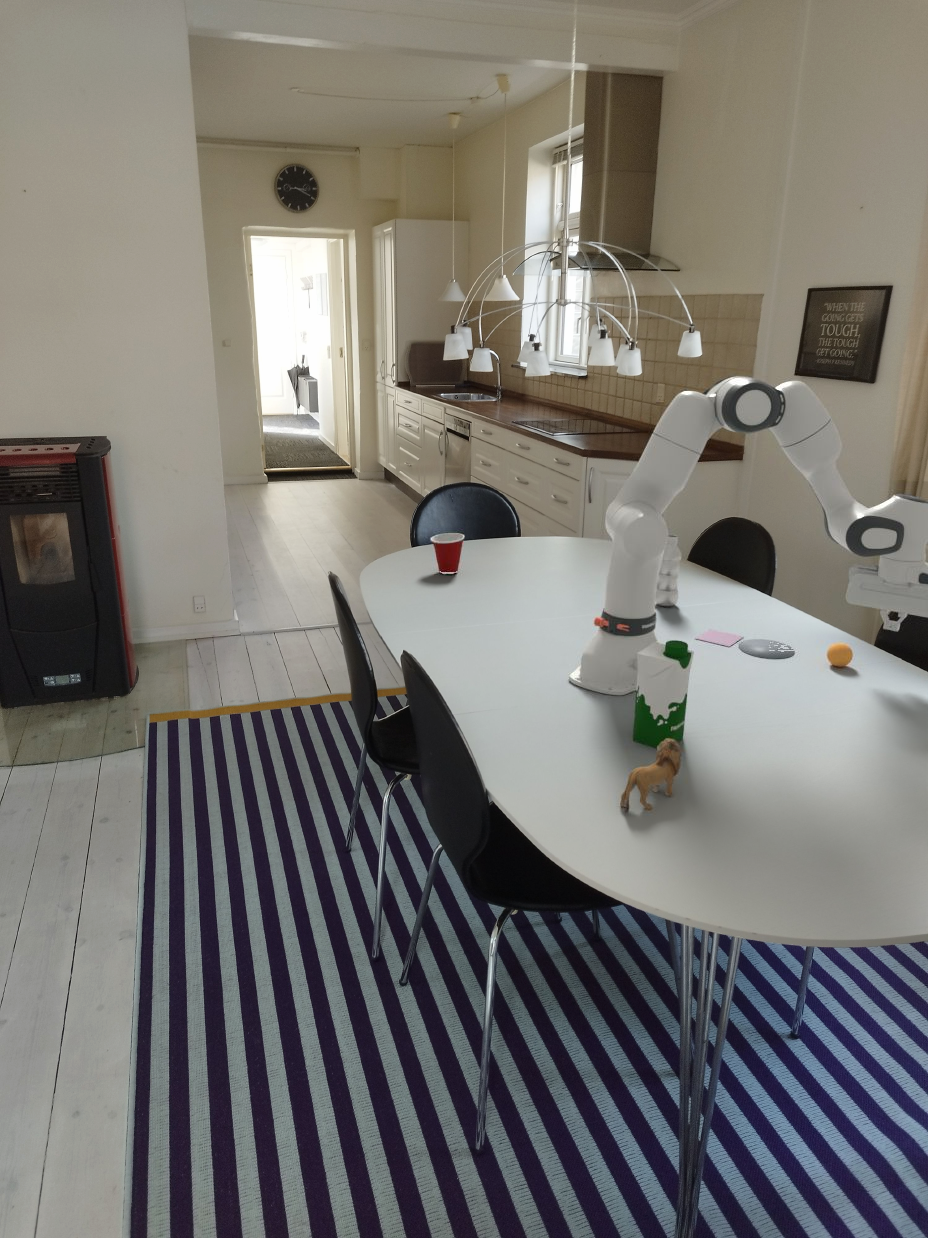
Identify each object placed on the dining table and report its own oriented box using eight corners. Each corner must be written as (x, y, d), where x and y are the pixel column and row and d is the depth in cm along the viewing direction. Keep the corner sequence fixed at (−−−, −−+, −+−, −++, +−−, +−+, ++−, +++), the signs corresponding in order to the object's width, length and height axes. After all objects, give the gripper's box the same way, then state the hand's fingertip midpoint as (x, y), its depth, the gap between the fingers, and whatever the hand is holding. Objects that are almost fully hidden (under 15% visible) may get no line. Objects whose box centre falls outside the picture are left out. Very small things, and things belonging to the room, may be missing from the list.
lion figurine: (658, 777, 150) (662, 731, 147) (685, 788, 146) (690, 740, 143) (612, 810, 139) (615, 761, 136) (640, 822, 136) (644, 772, 133)
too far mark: (729, 647, 210) (729, 646, 210) (695, 639, 216) (695, 638, 216) (743, 637, 217) (743, 636, 217) (710, 629, 222) (710, 629, 222)
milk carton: (668, 755, 157) (678, 653, 151) (625, 740, 163) (632, 642, 156) (689, 738, 164) (699, 640, 157) (647, 724, 169) (654, 629, 163)
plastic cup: (426, 569, 276) (426, 533, 272) (458, 567, 279) (458, 531, 275) (435, 578, 266) (435, 541, 262) (468, 576, 269) (469, 538, 265)
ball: (846, 672, 195) (850, 649, 194) (822, 666, 199) (825, 644, 197) (853, 665, 199) (857, 643, 198) (829, 659, 203) (832, 637, 201)
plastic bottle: (678, 609, 238) (684, 539, 232) (653, 607, 239) (658, 538, 233) (677, 602, 244) (683, 534, 238) (653, 601, 245) (658, 533, 239)
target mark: (783, 663, 200) (783, 662, 200) (729, 650, 208) (730, 649, 208) (802, 647, 210) (802, 647, 210) (750, 636, 218) (750, 635, 218)
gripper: (846, 564, 189) (838, 623, 194) (949, 580, 177) (938, 643, 181) (854, 559, 194) (846, 616, 198) (955, 573, 181) (944, 635, 186)
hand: (891, 629), depth 190 cm, fingers closed
